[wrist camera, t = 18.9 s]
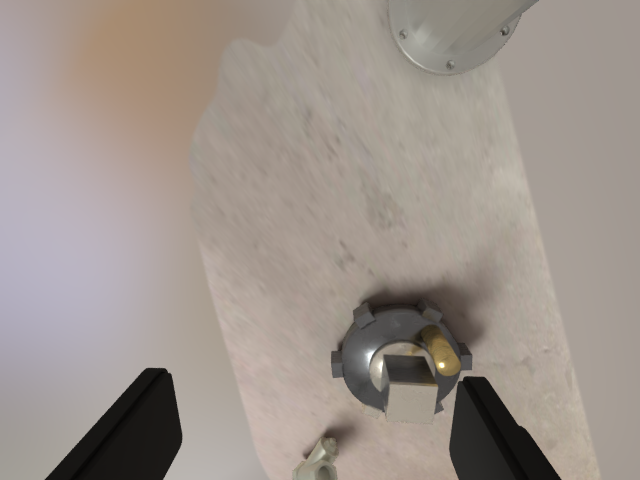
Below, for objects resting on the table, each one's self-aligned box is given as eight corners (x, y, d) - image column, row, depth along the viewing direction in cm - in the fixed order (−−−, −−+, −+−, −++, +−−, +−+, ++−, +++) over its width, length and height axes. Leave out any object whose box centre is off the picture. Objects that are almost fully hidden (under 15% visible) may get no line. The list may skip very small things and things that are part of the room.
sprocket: (414, 272, 37) (436, 304, 29) (483, 371, 40) (521, 425, 32) (309, 337, 40) (303, 383, 32) (381, 423, 44) (392, 485, 35)
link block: (380, 388, 38) (386, 421, 33) (383, 354, 36) (390, 384, 32) (420, 390, 37) (432, 424, 33) (424, 356, 36) (438, 386, 31)
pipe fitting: (326, 430, 44) (309, 486, 39) (348, 443, 44) (334, 499, 39) (304, 435, 49) (287, 484, 45) (323, 446, 50) (309, 496, 45)
